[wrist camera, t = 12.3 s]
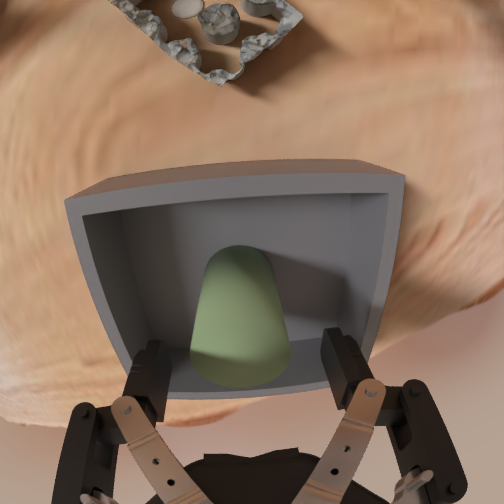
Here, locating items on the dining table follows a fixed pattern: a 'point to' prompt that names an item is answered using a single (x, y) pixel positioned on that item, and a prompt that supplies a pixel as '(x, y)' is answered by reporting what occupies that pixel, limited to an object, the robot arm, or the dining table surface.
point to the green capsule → (239, 321)
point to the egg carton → (213, 30)
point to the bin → (248, 234)
